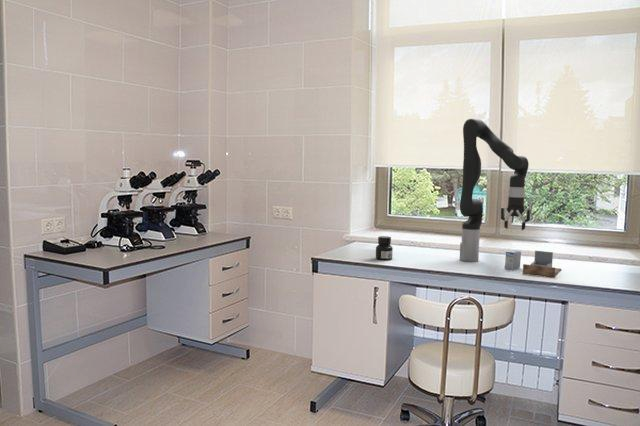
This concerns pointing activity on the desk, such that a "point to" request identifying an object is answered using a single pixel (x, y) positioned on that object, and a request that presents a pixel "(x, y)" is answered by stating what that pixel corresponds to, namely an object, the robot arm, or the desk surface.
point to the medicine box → (512, 259)
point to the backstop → (540, 270)
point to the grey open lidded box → (543, 259)
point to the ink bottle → (384, 248)
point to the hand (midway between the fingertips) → (514, 229)
